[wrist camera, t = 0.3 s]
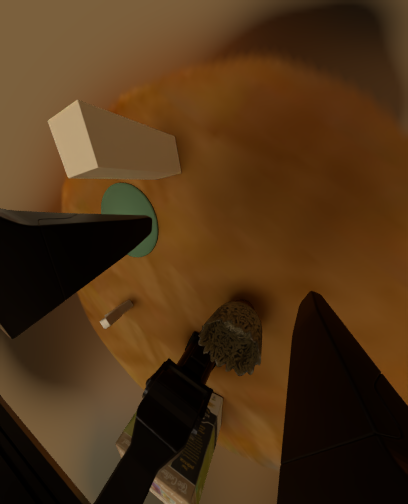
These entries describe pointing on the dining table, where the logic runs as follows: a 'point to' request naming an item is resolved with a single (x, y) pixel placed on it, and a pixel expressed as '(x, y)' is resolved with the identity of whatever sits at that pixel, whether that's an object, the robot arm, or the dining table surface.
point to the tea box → (185, 459)
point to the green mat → (131, 211)
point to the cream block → (111, 145)
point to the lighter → (115, 314)
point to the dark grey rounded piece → (233, 337)
